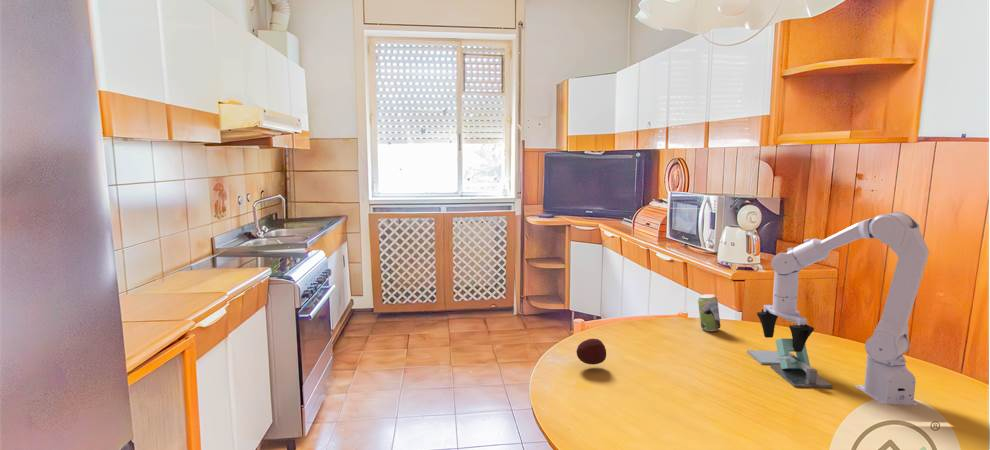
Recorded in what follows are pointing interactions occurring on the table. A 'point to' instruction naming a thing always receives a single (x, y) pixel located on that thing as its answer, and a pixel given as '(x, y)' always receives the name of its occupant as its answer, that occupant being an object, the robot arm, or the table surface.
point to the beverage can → (709, 312)
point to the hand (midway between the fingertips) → (782, 343)
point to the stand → (801, 375)
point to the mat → (767, 357)
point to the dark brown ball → (591, 351)
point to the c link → (783, 350)
